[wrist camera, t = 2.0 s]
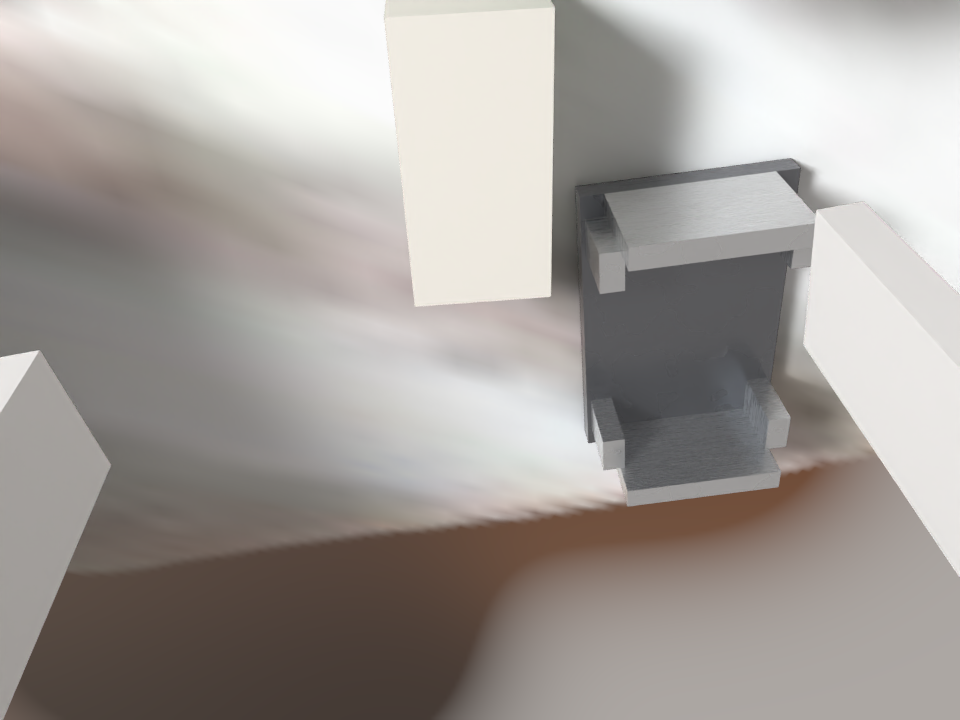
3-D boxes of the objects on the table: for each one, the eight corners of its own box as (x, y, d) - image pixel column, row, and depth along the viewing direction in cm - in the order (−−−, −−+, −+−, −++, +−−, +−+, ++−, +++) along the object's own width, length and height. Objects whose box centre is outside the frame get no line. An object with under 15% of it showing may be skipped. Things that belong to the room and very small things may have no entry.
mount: (758, 407, 41) (799, 484, 37) (584, 429, 41) (606, 509, 37) (791, 158, 33) (850, 218, 29) (575, 186, 33) (600, 251, 29)
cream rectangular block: (531, 222, 34) (550, 296, 30) (413, 230, 34) (414, 306, 29) (530, -34, 28) (555, 7, 24) (388, -26, 28) (384, 17, 23)
